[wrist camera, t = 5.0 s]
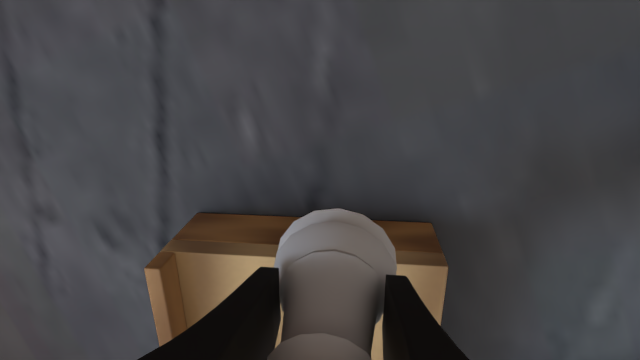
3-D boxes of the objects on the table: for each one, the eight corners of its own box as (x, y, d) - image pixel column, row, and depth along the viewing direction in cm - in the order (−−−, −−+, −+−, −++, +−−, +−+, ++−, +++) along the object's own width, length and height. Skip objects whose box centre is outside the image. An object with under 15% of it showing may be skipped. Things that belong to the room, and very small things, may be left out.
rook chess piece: (278, 298, 15) (196, 550, 8) (278, 198, 13) (174, 389, 6) (389, 310, 15) (418, 586, 7) (402, 207, 13) (456, 424, 6)
